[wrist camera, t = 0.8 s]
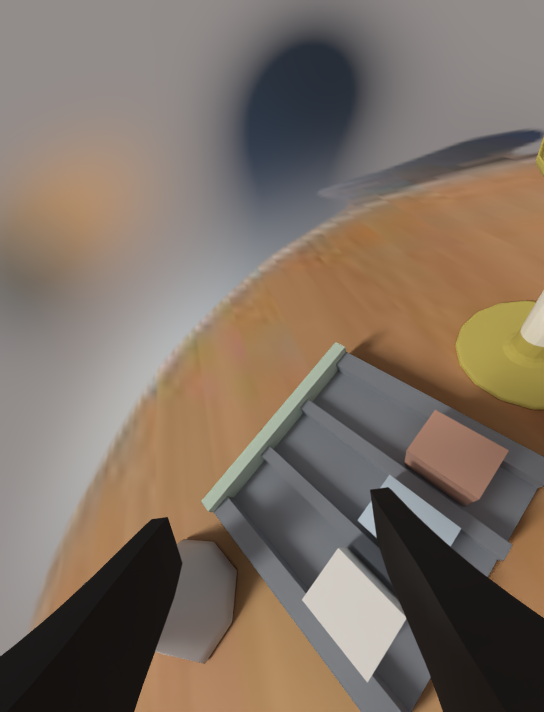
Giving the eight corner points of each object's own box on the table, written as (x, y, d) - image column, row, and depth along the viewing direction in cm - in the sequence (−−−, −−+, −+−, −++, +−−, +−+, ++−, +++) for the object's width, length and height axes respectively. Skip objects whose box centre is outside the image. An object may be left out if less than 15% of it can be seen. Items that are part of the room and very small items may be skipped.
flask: (182, 523, 25) (85, 514, 17) (253, 562, 22) (173, 574, 14) (137, 625, 22) (-5, 671, 14) (211, 688, 19) (79, 796, 11)
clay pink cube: (489, 465, 19) (509, 450, 16) (463, 506, 18) (479, 499, 15) (428, 429, 21) (434, 409, 18) (404, 464, 20) (406, 450, 17)
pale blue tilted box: (448, 531, 18) (461, 528, 15) (420, 576, 17) (427, 584, 14) (389, 485, 20) (389, 474, 17) (362, 523, 19) (357, 520, 16)
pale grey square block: (403, 603, 17) (406, 618, 14) (372, 654, 16) (367, 682, 13) (346, 546, 19) (338, 547, 16) (317, 589, 18) (301, 599, 15)
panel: (540, 472, 19) (564, 461, 16) (393, 729, 15) (394, 766, 13) (340, 360, 28) (335, 342, 25) (220, 505, 25) (201, 501, 22)
